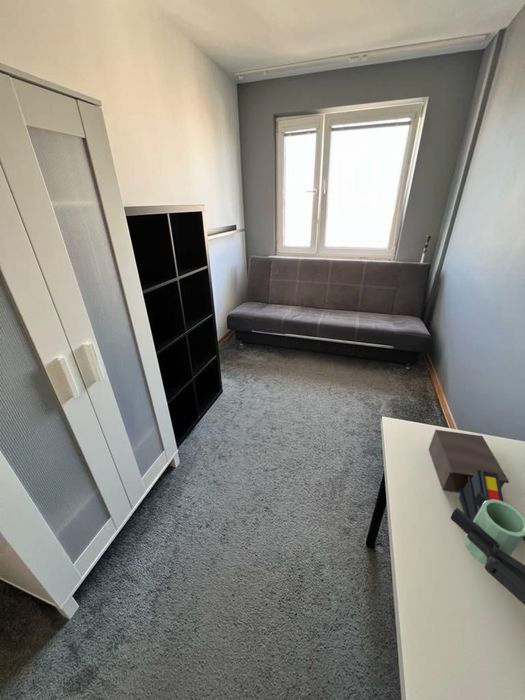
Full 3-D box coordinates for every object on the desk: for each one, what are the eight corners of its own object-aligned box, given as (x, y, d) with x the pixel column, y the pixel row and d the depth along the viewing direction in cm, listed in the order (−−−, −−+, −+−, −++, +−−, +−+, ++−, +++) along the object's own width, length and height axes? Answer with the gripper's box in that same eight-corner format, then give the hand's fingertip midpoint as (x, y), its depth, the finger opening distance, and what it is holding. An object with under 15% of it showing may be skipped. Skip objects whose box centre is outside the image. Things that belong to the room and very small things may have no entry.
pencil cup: (495, 535, 52) (516, 503, 48) (511, 572, 47) (537, 540, 43) (459, 528, 54) (476, 496, 49) (471, 563, 49) (492, 531, 44)
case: (494, 499, 74) (506, 480, 71) (442, 490, 77) (450, 471, 74) (472, 456, 87) (481, 437, 83) (428, 449, 90) (434, 431, 86)
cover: (507, 483, 70) (509, 481, 70) (451, 474, 73) (452, 472, 72) (481, 437, 83) (482, 435, 83) (434, 431, 86) (435, 429, 85)
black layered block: (470, 485, 76) (499, 472, 64) (479, 541, 69) (512, 538, 57) (455, 482, 77) (480, 468, 65) (461, 537, 70) (491, 533, 58)
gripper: (609, 736, 32) (425, 540, 50) (669, 632, 39) (488, 494, 57) (651, 720, 28) (436, 516, 46) (708, 609, 35) (502, 470, 53)
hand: (465, 504), depth 52 cm, fingers closed on pencil cup, 6 cm apart
